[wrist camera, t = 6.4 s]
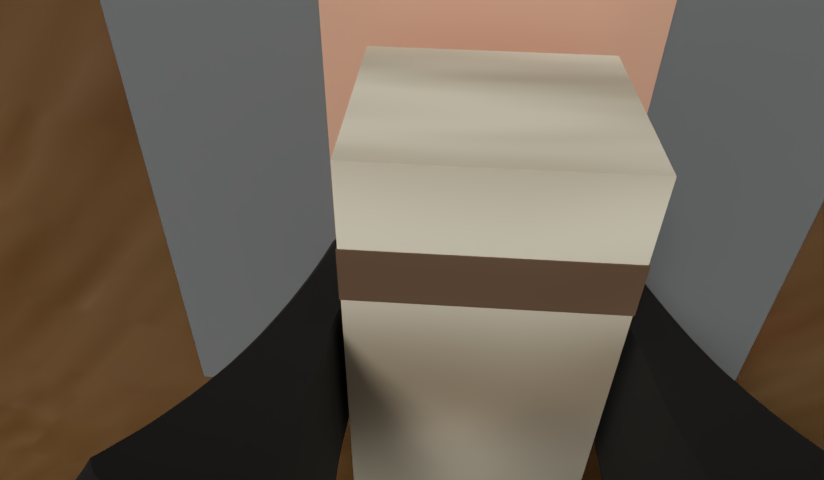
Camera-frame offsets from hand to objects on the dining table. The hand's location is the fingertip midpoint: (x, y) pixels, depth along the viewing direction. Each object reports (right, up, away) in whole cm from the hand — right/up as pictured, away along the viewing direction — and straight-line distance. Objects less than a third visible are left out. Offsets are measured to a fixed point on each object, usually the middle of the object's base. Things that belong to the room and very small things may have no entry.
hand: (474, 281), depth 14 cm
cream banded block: (0, +1, +1) cm, 1 cm away
